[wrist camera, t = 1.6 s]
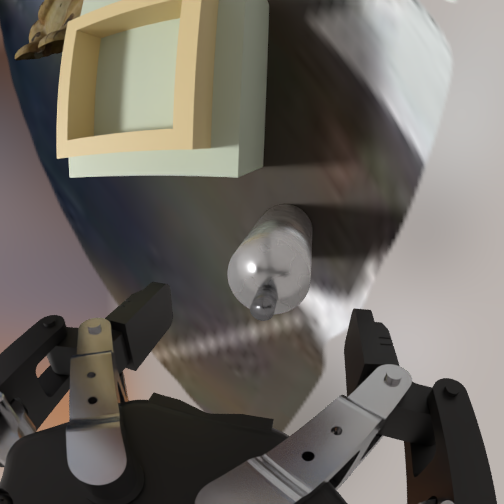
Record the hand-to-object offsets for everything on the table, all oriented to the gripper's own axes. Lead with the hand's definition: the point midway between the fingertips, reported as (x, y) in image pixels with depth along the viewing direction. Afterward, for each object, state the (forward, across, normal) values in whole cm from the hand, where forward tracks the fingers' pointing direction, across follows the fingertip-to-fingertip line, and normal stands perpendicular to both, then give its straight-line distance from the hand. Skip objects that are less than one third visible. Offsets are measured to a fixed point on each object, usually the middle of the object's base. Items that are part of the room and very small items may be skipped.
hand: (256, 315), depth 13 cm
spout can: (+12, 0, 0) cm, 13 cm away
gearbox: (+12, +10, -12) cm, 20 cm away
